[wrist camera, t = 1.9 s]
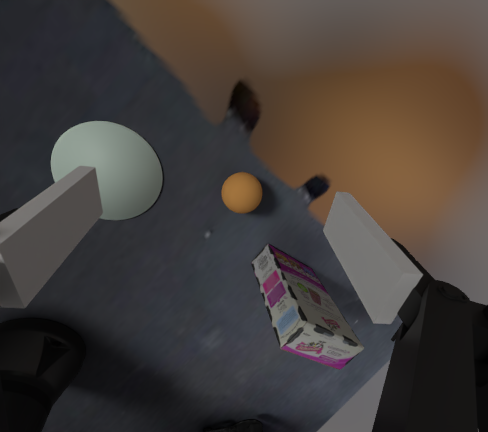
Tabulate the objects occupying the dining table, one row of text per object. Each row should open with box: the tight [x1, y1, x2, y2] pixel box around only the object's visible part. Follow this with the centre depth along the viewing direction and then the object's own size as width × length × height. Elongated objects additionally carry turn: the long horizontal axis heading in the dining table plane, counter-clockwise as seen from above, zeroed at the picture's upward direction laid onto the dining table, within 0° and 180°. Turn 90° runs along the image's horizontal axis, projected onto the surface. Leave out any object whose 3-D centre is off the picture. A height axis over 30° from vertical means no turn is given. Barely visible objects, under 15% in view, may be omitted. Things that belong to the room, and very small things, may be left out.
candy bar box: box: [251, 244, 364, 370], centre depth 38 cm, size 11×5×16 cm, turn 53°
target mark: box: [51, 121, 163, 220], centre depth 33 cm, size 13×13×1 cm
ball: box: [222, 172, 262, 213], centre depth 35 cm, size 6×6×6 cm
